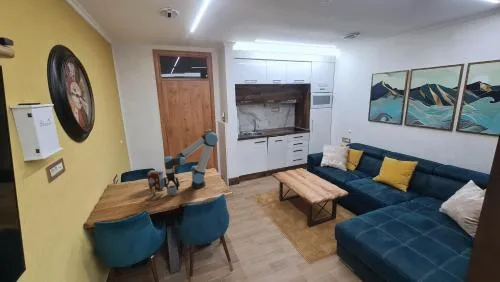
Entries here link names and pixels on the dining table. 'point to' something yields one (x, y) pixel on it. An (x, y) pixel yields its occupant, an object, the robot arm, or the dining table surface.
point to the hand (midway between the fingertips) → (173, 192)
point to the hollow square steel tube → (171, 190)
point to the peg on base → (153, 195)
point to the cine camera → (155, 179)
